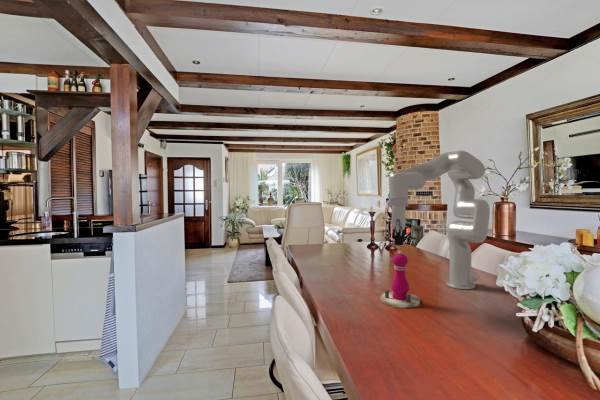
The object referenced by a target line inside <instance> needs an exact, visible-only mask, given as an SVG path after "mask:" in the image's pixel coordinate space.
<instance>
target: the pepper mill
mask: <svg viewBox="0 0 600 400" xmlns="http://www.w3.org/2000/svg"><path fill="white" fill-rule="evenodd" d="M392 262H393V264H394V266H393V267H394V268H393V269H394V270H395V271H394V273H395V274H394V278H393V280H392V282H391V285H390V286H391V290H392V292H393V298H394V299H397V300H407V298H406V294H407V293H408V292H409V291H410V285H409V282H408V280H407V277H406V270H407V264H408V262H409V260H408V257H407V256H406V255H405V254H403V251H402V250H398V251H397V254H395V255H394V256H393V257H392Z"/></svg>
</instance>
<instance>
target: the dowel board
mask: <svg viewBox="0 0 600 400" xmlns="http://www.w3.org/2000/svg"><path fill="white" fill-rule="evenodd" d="M393 292H394V291H389V290H388V289H384V293H382V294H381V295H380V296H379V297H380V299H379V300H380V303H382V304H383V305H385V306H388V307H393V308H399V309H414V308H417V307H419V306H420V305H421V298H420V297H419V296H417V295H415V294H412V293H408V292H407V294H406V298H407V300H397V299H394V298H393Z"/></svg>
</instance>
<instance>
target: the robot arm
mask: <svg viewBox="0 0 600 400" xmlns="http://www.w3.org/2000/svg"><path fill="white" fill-rule="evenodd" d="M446 173H447V175H448V177H449V178H450V181H452V184H453V186H454V189H455V190H454V191H455V193H454V200H453V206H452V207H453V208H452V209H453V210H452V211H453V215H454V217H456V218H458V219H466V221H465V220H454V221H451V222H449V224H447V228H446V233H447V234H446V235H447V237H448V238H447V239H448V245H449V247H448V248H449V249H448V250H449V253H448V254H449V255H448V256H449V280H447V281H446V282H445V284H446V286H447V287H449V288H453V289H458V290H473V289H476V284H475V283H474V282H477V281H478V280H479V277H478V276H477V275H475V276H472V248H471V246H470V244H469V243H475V244H479V243H483V242H485V240H486V239H487V236H488V232H489V231H488V229H489V221H490V213H491V212H490V211H491V210H490V209H491V208H490V206H489V203H488V202H487V201H486V200H484V199H481V198H479V199H478V198H475V192H476V191H475V190H476V189H475V187H474V185H473V183H472V182H471V180H477V179H478V180H479V179H481V178H482V177H484V176H485V173H486V167H485V164H484V163H483V162H482V161H481V160H480V159H478V158H477V157H476V156H475V155H473V154H471V153H469V152H467V151H465V150H454V151H449V152H444V153H440V154H439V155H437V156H435V157H433V158H431V159H429V160H428V161H425V162H422V163H420V164H416V165H414V166H411V167H408V168H406V169H404V170H402V171H400V172H397V173H396V172H395V173H390V174H389V176H388V189H389V192H388V193H389V195H388V197H389V207H391V230H392V231H394V246H403V245H404V242H405V241H406V240H405V239H406V238H405V237H406V236H405V234H406V233H405V229H406V218H407V217H406V214H407V213H406V207H408V206H409V191H418V190H421V189H423V187H425V185H426V181H431V180H435V179H438V178H440V177H441V176H443V175H444V174H446ZM469 219H470V220H472V221H467V220H469Z"/></svg>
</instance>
